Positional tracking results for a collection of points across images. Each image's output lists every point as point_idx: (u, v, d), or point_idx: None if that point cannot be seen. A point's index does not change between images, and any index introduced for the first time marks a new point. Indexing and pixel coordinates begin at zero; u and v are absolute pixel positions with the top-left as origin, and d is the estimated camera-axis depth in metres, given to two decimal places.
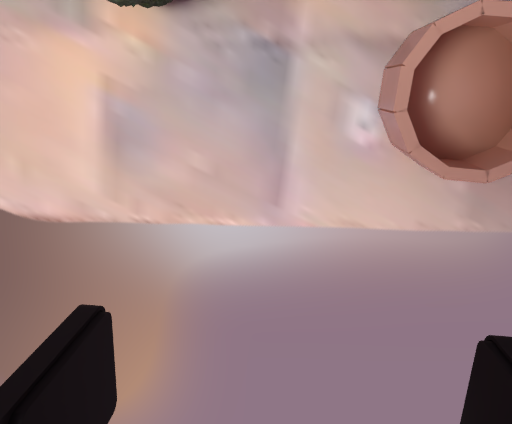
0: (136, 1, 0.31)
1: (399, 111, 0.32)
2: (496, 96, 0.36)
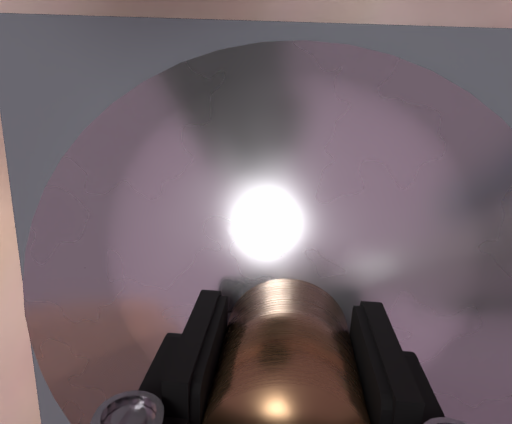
0: None
1: None
2: None
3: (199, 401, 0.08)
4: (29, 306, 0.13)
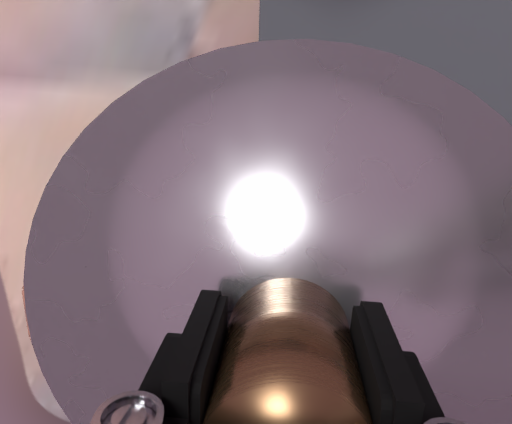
0: None
1: None
2: None
3: (199, 401, 0.08)
4: (30, 305, 0.13)
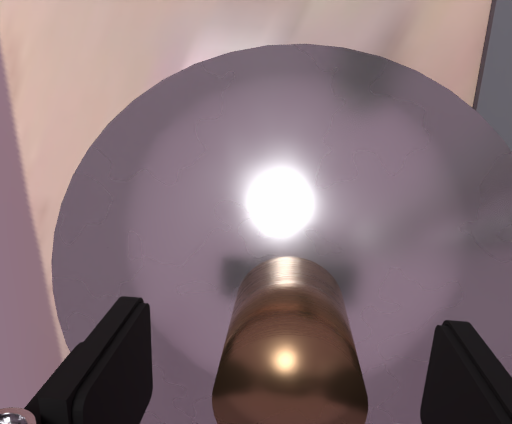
0: None
1: None
2: None
3: (82, 419, 0.07)
4: (57, 283, 0.14)
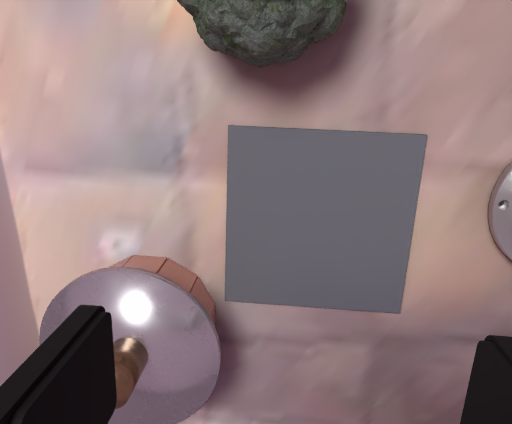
0: None
1: None
2: None
3: None
4: None
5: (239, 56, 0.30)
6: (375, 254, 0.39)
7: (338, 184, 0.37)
